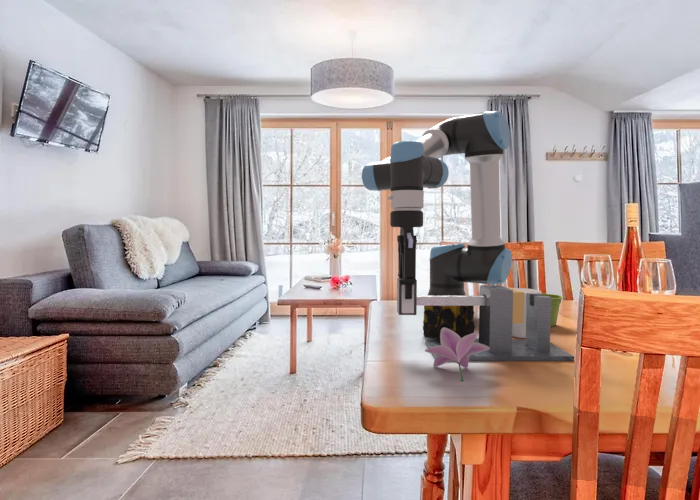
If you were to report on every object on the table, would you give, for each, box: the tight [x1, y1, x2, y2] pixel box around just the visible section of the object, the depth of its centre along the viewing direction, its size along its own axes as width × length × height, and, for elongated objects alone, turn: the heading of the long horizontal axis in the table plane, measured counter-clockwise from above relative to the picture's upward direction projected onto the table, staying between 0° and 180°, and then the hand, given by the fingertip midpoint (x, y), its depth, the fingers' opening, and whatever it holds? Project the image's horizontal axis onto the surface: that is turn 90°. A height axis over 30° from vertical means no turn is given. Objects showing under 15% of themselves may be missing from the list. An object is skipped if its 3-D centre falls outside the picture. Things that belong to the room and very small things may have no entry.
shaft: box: [396, 277, 487, 316], centre depth 98 cm, size 4×26×8 cm, turn 90°
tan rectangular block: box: [505, 286, 524, 323], centre depth 98 cm, size 8×2×7 cm, turn 0°
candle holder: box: [512, 287, 543, 339], centre depth 115 cm, size 10×10×12 cm
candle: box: [422, 295, 476, 339], centre depth 113 cm, size 10×10×10 cm
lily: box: [424, 327, 490, 382], centre depth 83 cm, size 12×12×10 cm
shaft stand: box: [424, 284, 575, 362], centre depth 99 cm, size 14×30×15 cm, turn 90°
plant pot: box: [542, 293, 564, 327], centre depth 127 cm, size 9×9×9 cm
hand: (406, 310), depth 99 cm, fingers closed on shaft, 4 cm apart
